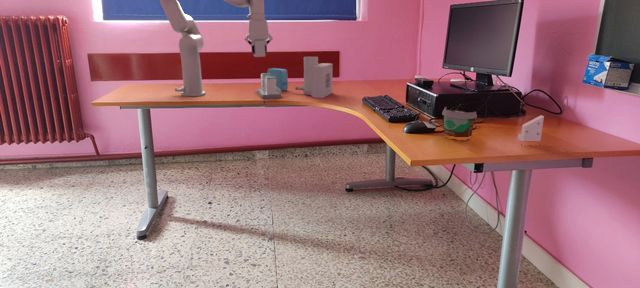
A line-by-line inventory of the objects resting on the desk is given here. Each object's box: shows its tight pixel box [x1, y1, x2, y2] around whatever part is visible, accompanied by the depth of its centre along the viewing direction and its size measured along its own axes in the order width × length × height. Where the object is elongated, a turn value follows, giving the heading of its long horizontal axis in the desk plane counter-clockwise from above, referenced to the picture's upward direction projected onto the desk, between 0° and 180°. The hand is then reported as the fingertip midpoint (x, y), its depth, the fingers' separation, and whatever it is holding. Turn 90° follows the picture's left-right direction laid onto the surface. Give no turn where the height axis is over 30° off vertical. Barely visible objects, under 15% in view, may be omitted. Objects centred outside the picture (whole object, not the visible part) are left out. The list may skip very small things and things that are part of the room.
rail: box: [256, 72, 282, 100], centre depth 233 cm, size 10×20×11 cm, turn 16°
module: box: [253, 39, 266, 58], centre depth 226 cm, size 5×8×8 cm, turn 15°
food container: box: [441, 106, 478, 137], centre depth 151 cm, size 12×6×10 cm, turn 45°
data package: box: [267, 67, 289, 92], centre depth 250 cm, size 12×4×12 cm, turn 48°
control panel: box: [295, 56, 334, 99], centre depth 234 cm, size 16×19×20 cm
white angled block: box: [517, 114, 545, 142], centre depth 145 cm, size 4×10×9 cm
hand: (259, 53), depth 227 cm, fingers closed on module, 5 cm apart
